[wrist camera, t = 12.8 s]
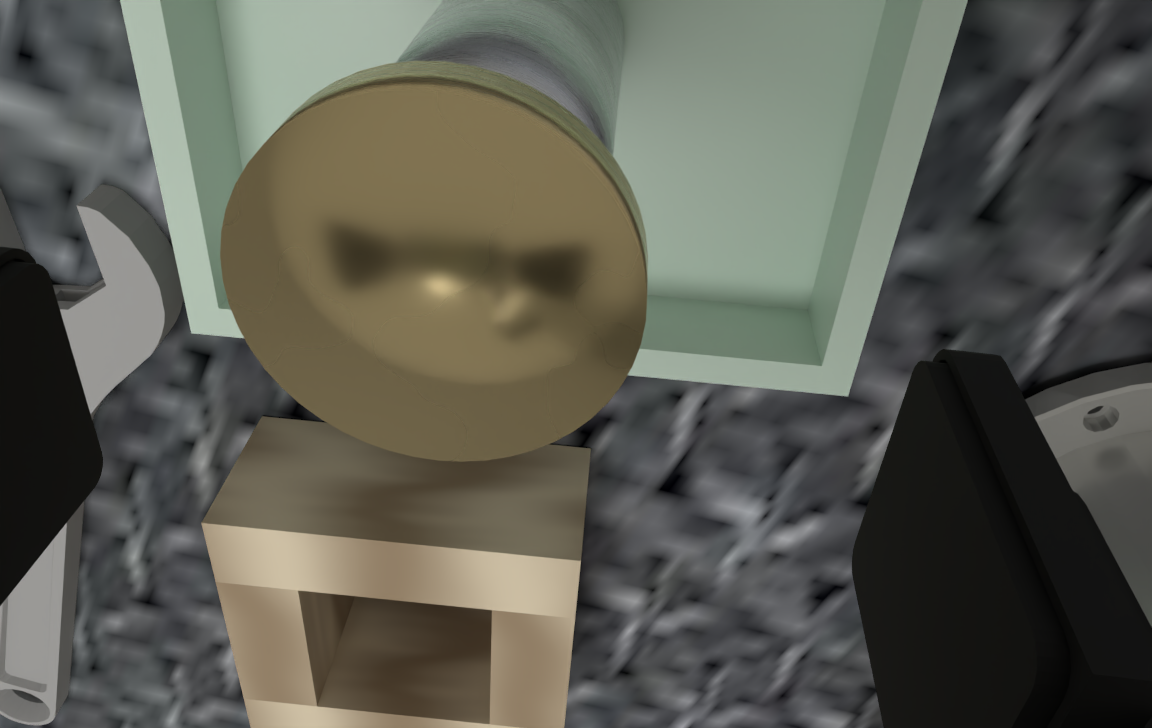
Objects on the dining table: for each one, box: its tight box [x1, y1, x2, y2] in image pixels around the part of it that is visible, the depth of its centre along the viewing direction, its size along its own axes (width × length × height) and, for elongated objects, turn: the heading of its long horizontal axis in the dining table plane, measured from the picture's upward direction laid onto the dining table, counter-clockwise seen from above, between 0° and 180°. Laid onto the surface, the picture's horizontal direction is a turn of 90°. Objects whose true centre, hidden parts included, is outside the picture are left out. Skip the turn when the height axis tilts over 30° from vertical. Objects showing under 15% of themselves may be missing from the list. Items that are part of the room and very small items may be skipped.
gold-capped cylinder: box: [220, 0, 648, 462], centre depth 16 cm, size 5×5×11 cm
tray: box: [120, 0, 968, 396], centre depth 19 cm, size 16×14×3 cm
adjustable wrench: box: [0, 184, 184, 725], centre depth 30 cm, size 25×6×2 cm, turn 154°
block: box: [202, 416, 591, 728], centre depth 29 cm, size 10×10×4 cm
